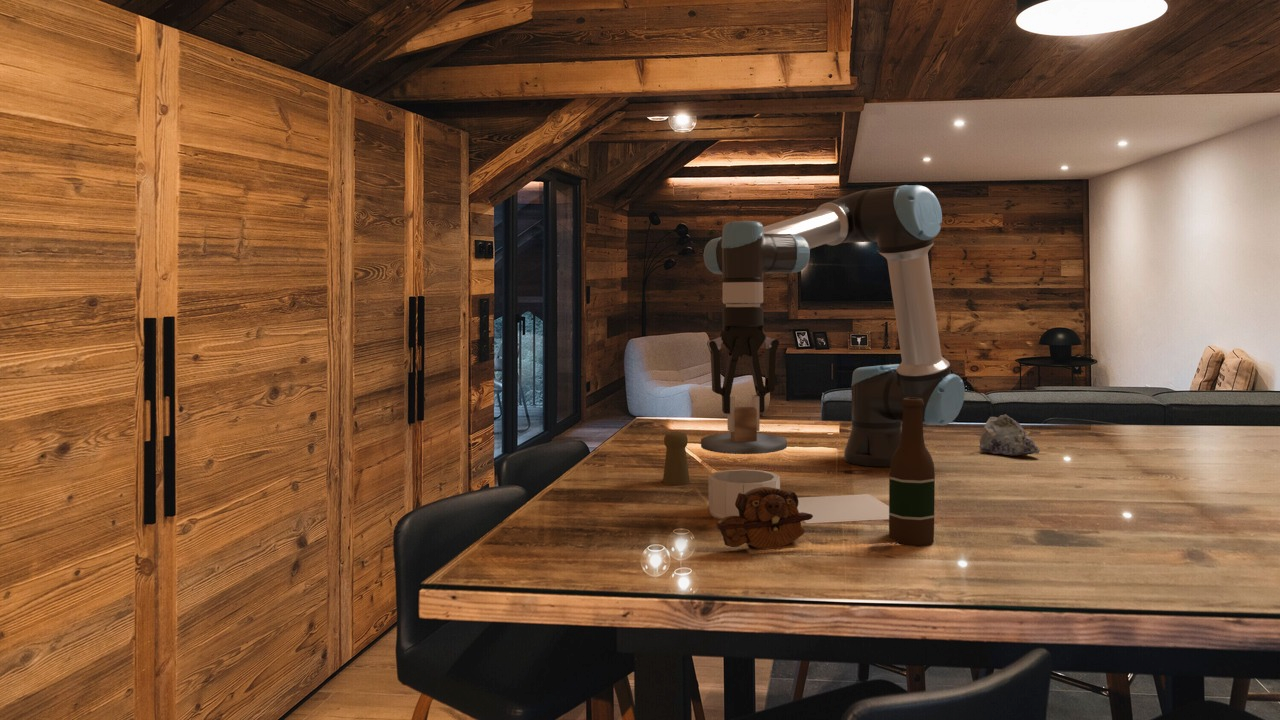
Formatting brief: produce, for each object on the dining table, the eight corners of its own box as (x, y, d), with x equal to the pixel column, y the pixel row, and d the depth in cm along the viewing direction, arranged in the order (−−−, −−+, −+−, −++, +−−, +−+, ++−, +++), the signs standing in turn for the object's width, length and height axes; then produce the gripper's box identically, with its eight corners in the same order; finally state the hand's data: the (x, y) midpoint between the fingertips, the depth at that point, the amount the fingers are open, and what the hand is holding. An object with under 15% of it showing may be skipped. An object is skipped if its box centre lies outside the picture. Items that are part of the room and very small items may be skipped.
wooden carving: (727, 558, 146) (726, 496, 146) (714, 550, 151) (714, 490, 150) (817, 546, 152) (817, 487, 151) (803, 539, 156) (803, 481, 155)
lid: (773, 437, 182) (773, 401, 181) (797, 452, 166) (797, 412, 166) (693, 440, 180) (693, 403, 179) (710, 455, 164) (710, 415, 163)
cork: (687, 485, 198) (687, 435, 197) (660, 484, 200) (659, 434, 199) (692, 479, 204) (691, 430, 203) (665, 478, 205) (664, 430, 204)
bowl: (768, 503, 182) (768, 468, 181) (787, 520, 169) (787, 482, 168) (703, 506, 180) (703, 471, 179) (717, 523, 167) (717, 485, 166)
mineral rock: (1042, 460, 220) (1043, 418, 219) (998, 461, 219) (999, 419, 218) (1016, 450, 232) (1017, 410, 232) (974, 451, 232) (975, 411, 231)
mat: (868, 497, 185) (868, 494, 185) (908, 521, 166) (908, 518, 166) (776, 501, 183) (776, 498, 183) (806, 526, 164) (806, 523, 164)
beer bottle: (880, 534, 158) (881, 396, 156) (924, 533, 159) (926, 394, 157) (897, 547, 150) (898, 401, 148) (943, 545, 151) (945, 400, 149)
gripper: (781, 304, 176) (781, 425, 178) (693, 305, 173) (694, 428, 175) (793, 305, 168) (793, 432, 170) (701, 306, 166) (702, 435, 168)
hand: (743, 430), depth 173 cm, fingers closed on lid, 4 cm apart
